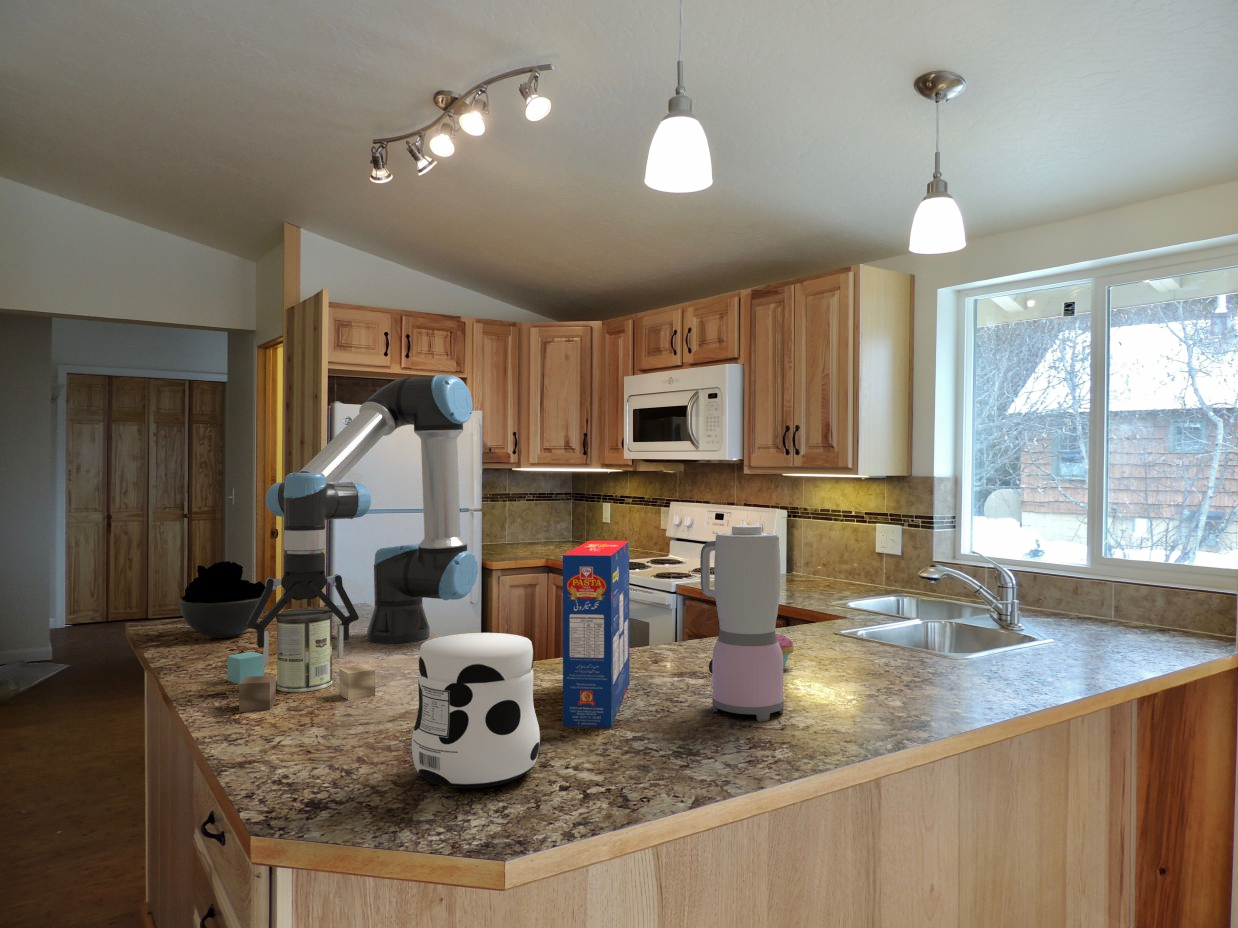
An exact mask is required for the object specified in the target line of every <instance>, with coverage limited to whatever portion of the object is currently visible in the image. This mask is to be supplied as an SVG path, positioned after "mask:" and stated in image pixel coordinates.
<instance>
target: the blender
mask: <svg viewBox="0 0 1238 928" xmlns="http://www.w3.org/2000/svg"><path fill="white" fill-rule="evenodd" d="M762 527H763V526H762V525H752V524H751V525H750V524H749V525H748V524H747V525H739V524H738V525H732V526H731V531H730V532H729V531H727V532H726V531H725V532H718V533H717V534H716V535H715V540H710V541H707V542H706V543H704V545H702V547H701V550H700V557H699V558H700V588H701V592H702V594H703V595H704V596H706V597H707V598H710V599H714V600H715V604H716V609H717V610H716V611H717V616H718V622H719V633H718V638H717V640H716V641H715V644H714V646H713V650H712V659H710V660H709V662H708V663H709V664H708V670H709V673H710V674H711V675H712V676H711V678H712V695H711V696H712V703H711V704H712V711H713V712H715V713H716V712H718V710H720V711H724V712H728V713H732V714H739V715H755V716H756V721H757V722H767V721H769V720H770V714H773V713H777V712H778V713H779V714H784V708H785V707H784V706H785V699H784V669H783V654H782V650H781V647H780V645H779V643H778V641H777V638H776V634H777V633H776V623H777V617H778V613H779V611H778V610H779V605H780V597H781V553H780V536H779V535H778V534H777V533H773V532H763V528H762ZM713 551H714V562H713V563H714V564H713V566H714V567H713V568H714V570H713V571H714V577H713V578H714V582H713V583H714V588H712V587H711V553H712V552H713Z"/></svg>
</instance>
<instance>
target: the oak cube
mask: <svg viewBox="0 0 1238 928" xmlns="http://www.w3.org/2000/svg"><path fill="white" fill-rule="evenodd" d="M338 674H339V677H338V679H339V680H338V685H339V686H338V687H339V691H338V692H339V696H340V695H341V697H342V698H344V699H345V698H346V700H347V699H348V700H350V701H353V700H352V699H355V700H359V699H358V698H361V699H366V698H365V697H367V698H372V697H371V696H373V697H376V669H375V668H373V667H371V666H369V665H367V664H362V665H354V666H349V667H348V666H347V667H341V668H339V672H338ZM348 700H347V701H348Z"/></svg>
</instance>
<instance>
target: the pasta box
mask: <svg viewBox="0 0 1238 928" xmlns="http://www.w3.org/2000/svg"><path fill="white" fill-rule="evenodd" d="M630 645H631V644H630V540H587V541H586V542H584V543H583V544H581V545H578V546H576V547H575V548H573V549H571V550H569V551H568V552H566V553H564V554H562V726H563V727H580V728H581V727H583V728H605V729H606V728H608V729H612V728H613V725H614V722H615V721H616V718H617V715H618V713H619V710H620V708H621V705H622V704H623V700H624V698H625V696H626V693H627V691H628V689H629V686H630V681H631V679H630V677H631V675H630V667H631V666H630V663H631V661H630V658H631V657H630Z"/></svg>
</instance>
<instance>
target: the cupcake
mask: <svg viewBox="0 0 1238 928" xmlns="http://www.w3.org/2000/svg"><path fill="white" fill-rule="evenodd" d="M775 634H776V638H777V641H778V643H779V645H780V647H781V650H782V654H783V670H784V669H785V668H786V663H787V661H788V658H789V655H791V654H793V652H794V650H795V649H794V642H793V641H792V640H791V639H790V638H788V637H787V636H785V635H783V634H778V633H775Z"/></svg>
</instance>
